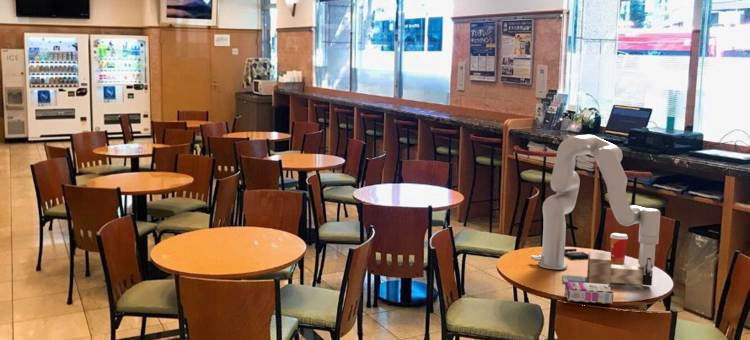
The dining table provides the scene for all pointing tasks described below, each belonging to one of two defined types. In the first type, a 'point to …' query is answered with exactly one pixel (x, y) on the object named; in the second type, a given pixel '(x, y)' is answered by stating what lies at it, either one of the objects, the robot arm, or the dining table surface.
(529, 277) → the dining table surface
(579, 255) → the battery charger
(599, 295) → the candy bar box
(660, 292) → the dining table surface
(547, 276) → the dining table surface
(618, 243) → the paper cup
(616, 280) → the block
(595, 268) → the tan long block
